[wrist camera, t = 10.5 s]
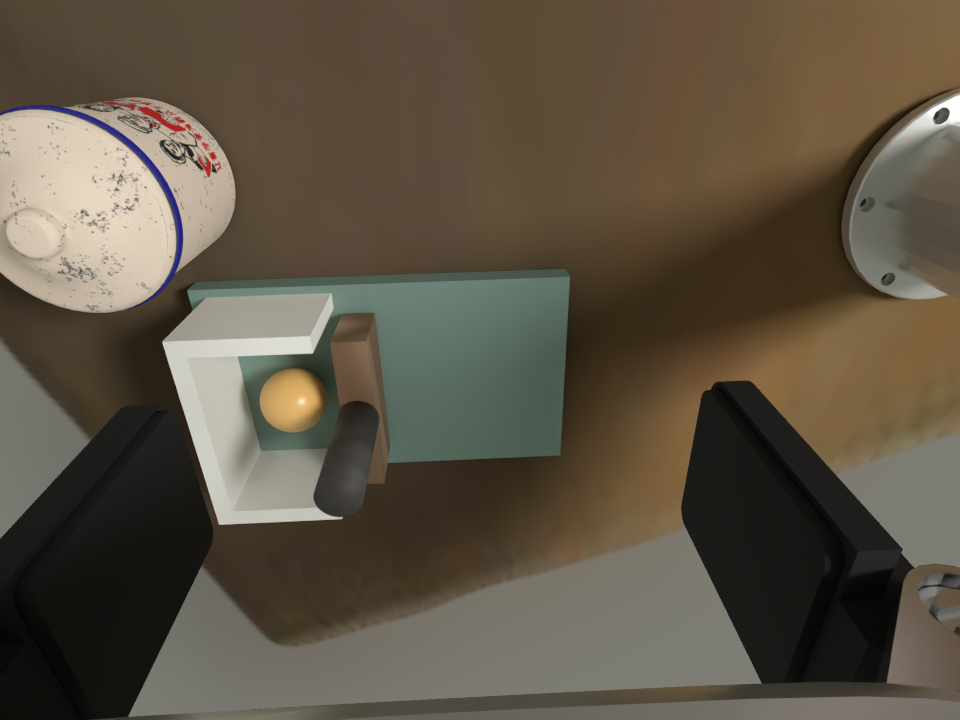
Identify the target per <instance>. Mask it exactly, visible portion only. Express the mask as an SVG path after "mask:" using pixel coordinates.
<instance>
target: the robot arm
mask: <svg viewBox="0 0 960 720" xmlns="http://www.w3.org/2000/svg"><path fill="white" fill-rule="evenodd" d="M841 230H842V244H843V247H844V250H845V253H846V257H847V259H848V261H849V263H850V264H851V266H852V268H853V269H854V271H855V272H856V273H857V274H858V275H859V276H860V277H861V278H862V279H863V280H864V281H865V282H866V283H868V284H869V285H871V286H873V287H875V288H876V289H878V290H880V291H882V292H884V293H887V294H889V295H892V296H894V297H898V298H905V299H911V300H919V299H933V298H938V297H943V296H948V295H950V296H952V297H954V298H956V299H958V300H960V88H957V89H954V90H951V91H949V92H946V93H944V94H942V95H939V96H937V97H934V98H932V99H931V100H929V101H927V102H926V103H924V104H922V105H921V106H919V107H917V108H916V109H914V110H912V111H911V112H910V113H908V114H907V115H906V116H905V117H904V118H902V119H901V120H900V121H899V122H897V123H896V124H895V125H894V126H893V127H891V128H890V129H889V131H888V132H887V133H886V134H885V135H884V136H883V137H882V138H881V139H880V140H879V141H878V142H877V144H876V145H875V146H874V147H873V148H872V150H871V151H870V153H869V154H868V156H867V157H866V158H865V160H864V161H863V163H862V164H861V166H860V168H859V170H858V172H857V174H856V176H855V178H854V180H853V182H852V184H851V186H850V188H849V191H848V195H847V198H846V201H845V204H844V208H843V216H842V223H841ZM681 511H682V518H683V522H684V525H685V527H686V529H687V531H688V533H689V535H690V537H691V539H692V541H693V543H694V545H695V547H696V550H697V552H698V554H699V556H700V558H701V560H702V562H703V564H704V566H705V568H706V570H707V572H708V574H709V576H710V578H711V580H712V582H713V584H714V586H715V588H716V590H717V593H718V595H719V597H720V599H721V601H722V603H723V605H724V607H725V609H726V611H727V613H728V615H729V617H730V619H731V621H732V623H733V625H734V627H735V629H736V631H737V633H738V635H739V637H740V640H741V641H742V644H743V645H744V648H745V650H746V652H747V654H748V656H749V658H750V660H751V662H752V664H753V666H754V668H755V670H756V672H757V674H758V676H759V678H760V680H761V682H762V684H738V685H707V686H689V687H666V688H646V689H625V690H604V691H584V692H564V693H543V694H523V695H506V696H487V697H467V698H448V699H429V700H412V701H394V702H376V703H357V704H339V705H321V706H303V707H287V708H270V709H253V710H237V711H221V712H203V713H186V714H170V715H153V716H137V717H128V715H129V713H130V711H131V709H132V707H133V705H134V703H135V701H136V699H137V697H138V695H139V693H140V691H141V689H142V687H143V685H144V682H145V680H146V678H147V676H148V674H149V672H150V670H151V668H152V666H153V664H154V662H155V660H156V658H157V656H158V654H159V652H160V649H161V648H162V646H163V644H164V641H165V639H166V637H167V635H168V633H169V631H170V629H171V627H172V625H173V623H174V621H175V619H176V617H177V615H178V612H179V611H180V609H181V606H182V604H183V602H184V600H185V598H186V596H187V594H188V592H189V590H190V588H191V586H192V584H193V582H194V580H195V578H196V576H197V574H198V572H199V570H200V568H201V566H202V563H203V561H204V559H205V557H206V555H207V553H208V551H209V549H210V547H211V544H212V539H213V528H212V524H211V520H210V517H209V514H208V511H207V508H206V505H205V502H204V499H203V495H202V492H201V489H200V486H199V483H198V480H197V477H196V474H195V470H194V467H193V464H192V461H191V458H190V455H189V452H188V449H187V445H186V442H185V439H184V436H183V433H182V430H181V427H180V424H179V421H178V418H177V416H176V415H175V414H174V413H172V412H167V410H166V409H165V407H164V406H162V405H160V404H157V405H132V406H124V407H123V408H121V409H120V410H119V411H118V412H117V413H116V414H115V415H114V416H113V418H112V419H111V420H110V421H109V422H108V423H107V424H106V425H105V426H104V427H103V428H102V429H101V431H100V432H99V433H98V434H97V435H96V436H95V437H94V438H93V439H92V440H91V441H90V442H89V443H88V445H87V446H86V447H85V448H84V449H83V450H82V451H81V452H80V453H79V454H78V456H76V458H75V459H74V460H73V461H72V462H71V463H70V464H69V465H68V466H67V467H66V468H65V470H63V472H62V473H61V474H60V475H59V476H58V477H57V478H56V479H55V480H54V481H53V482H52V483H51V485H50V486H49V487H48V488H47V489H46V490H45V491H44V492H43V493H42V494H41V496H40V497H38V499H37V500H36V501H35V502H34V503H33V504H32V505H31V506H30V507H29V508H28V509H27V510H26V512H25V513H24V514H23V515H22V516H21V517H20V518H19V519H18V520H17V521H16V522H15V524H14V525H13V526H12V527H11V528H10V529H9V530H8V531H7V532H6V533H5V534H4V535H3V536H2V538H1V539H0V720H960V568H958V567H955V566H949V565H940V564H929V565H921V566H918V567H916V568H914V567H913V566H912V565H911V564H910V563H909V562H908V560H907V559H906V558H905V557H904V556H903V555H902V554H901V552H902V550H903V549H902V548H901V547H900V546H899V545H898V543H897V542H896V541H895V540H894V539H893V538H892V537H891V536H890V535H889V533H888V532H887V531H886V530H885V529H884V528H883V527H882V526H881V525H880V524H879V522H878V521H877V520H876V519H875V518H874V517H873V516H872V515H871V514H870V513H869V511H868V510H867V509H866V508H865V507H864V506H863V505H862V504H861V503H860V501H859V500H858V499H857V498H856V497H855V496H854V495H853V494H852V493H851V492H850V490H849V489H848V488H847V487H846V486H845V485H844V484H843V483H842V481H841V480H840V479H839V478H838V477H837V476H836V475H835V474H834V473H833V471H832V470H831V469H830V468H829V467H828V466H827V465H826V464H825V463H824V461H823V460H822V459H821V458H820V457H819V456H818V455H817V454H816V453H815V451H814V450H813V449H812V448H811V447H810V446H809V445H808V444H807V443H806V441H805V440H804V439H803V438H802V437H801V436H800V435H799V434H798V433H797V431H796V430H795V429H794V428H793V427H792V426H791V425H790V424H789V423H788V422H787V420H786V419H785V418H784V417H783V416H782V415H781V414H780V413H779V412H778V410H777V409H776V408H775V407H774V406H773V405H772V404H771V403H770V402H769V400H768V399H767V398H766V397H765V396H764V395H763V394H762V393H761V392H760V390H759V389H758V388H757V387H756V386H755V385H754V384H753V383H752V382H750V381H727V382H716V383H715V384H714V385H713V386H712V388H711V390H706V391H704V393H703V394H702V398H701V403H700V408H699V413H698V419H697V424H696V429H695V435H694V440H693V446H692V451H691V456H690V462H689V467H688V472H687V478H686V483H685V489H684V494H683V499H682V506H681Z"/></svg>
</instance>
